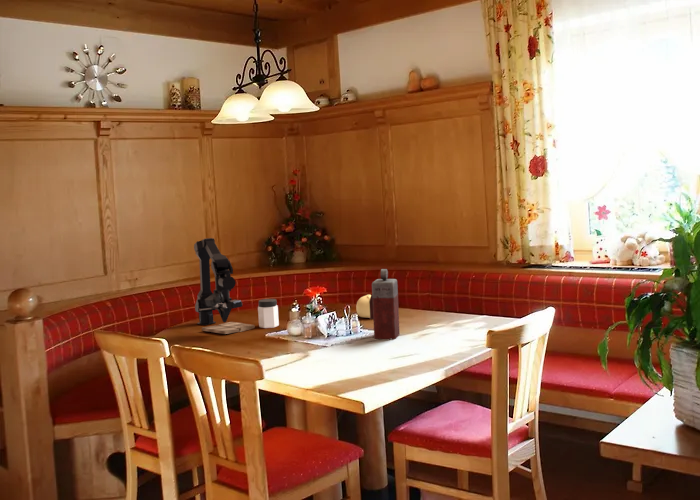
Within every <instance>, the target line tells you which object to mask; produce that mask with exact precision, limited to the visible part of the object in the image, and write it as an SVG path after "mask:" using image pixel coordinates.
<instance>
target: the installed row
mask: <svg viewBox="0 0 700 500" xmlns="http://www.w3.org/2000/svg"><path fill="white" fill-rule="evenodd" d="M217 326H223V327H229V328H236V329H239V332H238V333H241V332H242V333H243V332H245V331H250V330H252V329H253V330H254V329H255V327H256V326H255V324H250V323H243V322H236V321H229V322H228V321H227V322H225V323H224V322H223V323H220V324H217Z"/></svg>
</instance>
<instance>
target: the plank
mask: <svg viewBox="0 0 700 500" xmlns="http://www.w3.org/2000/svg"><path fill="white" fill-rule="evenodd" d="M201 331H204V332H209V333H210V332H211V333H216V334H222V335H226V334H227V335H228V334H234V333H240V332H239V329H236V328H229V327H223V326H218V325H210V326H205V327H201Z"/></svg>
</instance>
